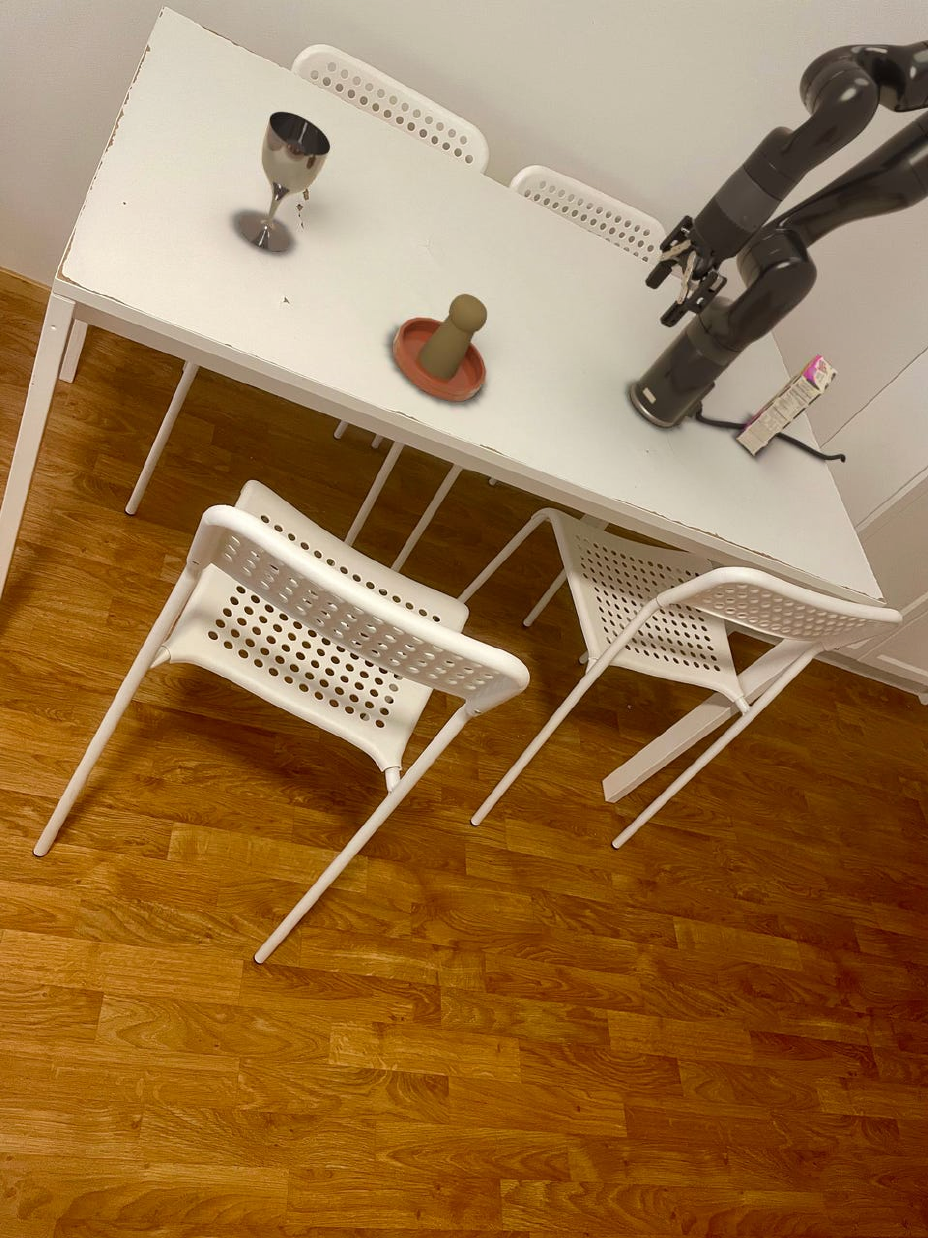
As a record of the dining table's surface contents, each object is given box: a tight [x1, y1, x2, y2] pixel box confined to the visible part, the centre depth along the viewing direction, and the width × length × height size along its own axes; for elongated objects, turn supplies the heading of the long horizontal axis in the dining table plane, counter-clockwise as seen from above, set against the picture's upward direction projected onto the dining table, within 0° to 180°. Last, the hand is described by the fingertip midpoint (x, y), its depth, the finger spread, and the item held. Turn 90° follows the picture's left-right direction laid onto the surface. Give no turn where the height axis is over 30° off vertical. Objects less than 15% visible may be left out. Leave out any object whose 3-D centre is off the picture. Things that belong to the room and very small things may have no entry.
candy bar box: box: [735, 353, 839, 457], centre depth 149 cm, size 11×5×16 cm, turn 144°
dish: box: [392, 316, 487, 402], centre depth 120 cm, size 14×14×2 cm
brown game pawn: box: [418, 293, 488, 379], centre depth 117 cm, size 6×6×11 cm
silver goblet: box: [238, 111, 331, 253], centre depth 112 cm, size 8×8×15 cm
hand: (657, 304), depth 124 cm, fingers open, 8 cm apart
